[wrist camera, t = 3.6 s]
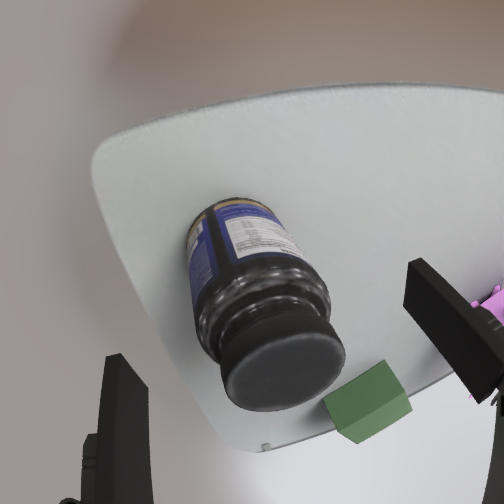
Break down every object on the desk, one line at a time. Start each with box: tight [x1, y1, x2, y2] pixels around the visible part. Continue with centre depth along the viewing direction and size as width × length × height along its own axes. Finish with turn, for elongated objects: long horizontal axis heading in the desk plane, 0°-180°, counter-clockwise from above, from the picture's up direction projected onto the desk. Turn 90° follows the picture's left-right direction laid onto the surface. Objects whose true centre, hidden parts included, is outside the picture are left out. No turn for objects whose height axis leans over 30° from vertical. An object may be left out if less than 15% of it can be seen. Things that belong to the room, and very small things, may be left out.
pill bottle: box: [186, 197, 346, 412], centre depth 15 cm, size 6×6×11 cm
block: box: [323, 360, 412, 444], centre depth 33 cm, size 8×8×5 cm
